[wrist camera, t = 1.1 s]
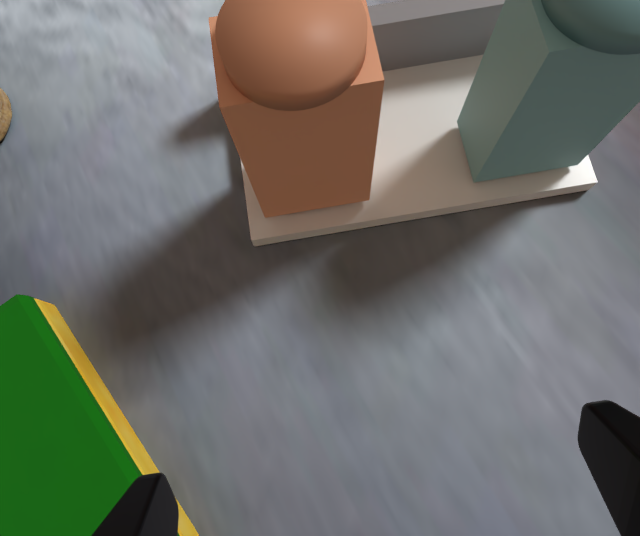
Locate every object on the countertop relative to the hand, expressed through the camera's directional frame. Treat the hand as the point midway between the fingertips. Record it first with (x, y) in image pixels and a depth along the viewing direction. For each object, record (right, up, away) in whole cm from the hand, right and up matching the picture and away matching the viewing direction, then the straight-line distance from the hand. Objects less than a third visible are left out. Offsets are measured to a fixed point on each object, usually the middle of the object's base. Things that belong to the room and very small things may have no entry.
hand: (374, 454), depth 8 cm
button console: (+3, +9, +14) cm, 17 cm away
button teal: (+8, +9, +13) cm, 17 cm away
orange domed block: (-1, +7, +13) cm, 15 cm away
